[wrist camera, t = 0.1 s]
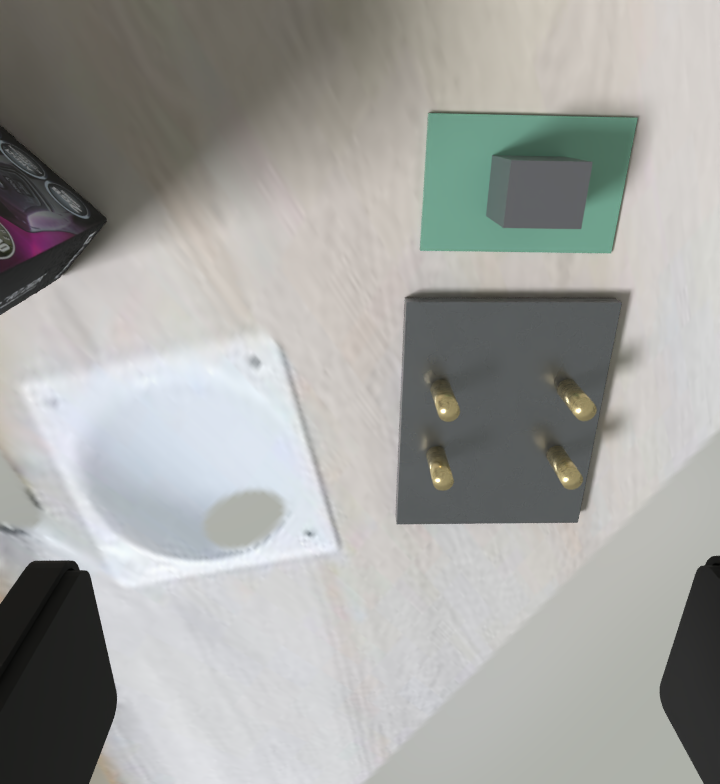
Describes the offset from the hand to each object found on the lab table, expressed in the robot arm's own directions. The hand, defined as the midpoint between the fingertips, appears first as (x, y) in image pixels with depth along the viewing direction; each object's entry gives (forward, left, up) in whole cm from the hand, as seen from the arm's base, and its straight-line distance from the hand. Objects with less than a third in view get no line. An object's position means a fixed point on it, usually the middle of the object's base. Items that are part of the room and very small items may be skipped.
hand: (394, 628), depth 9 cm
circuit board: (-3, +12, -37) cm, 39 cm away
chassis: (+15, +12, -37) cm, 41 cm away
